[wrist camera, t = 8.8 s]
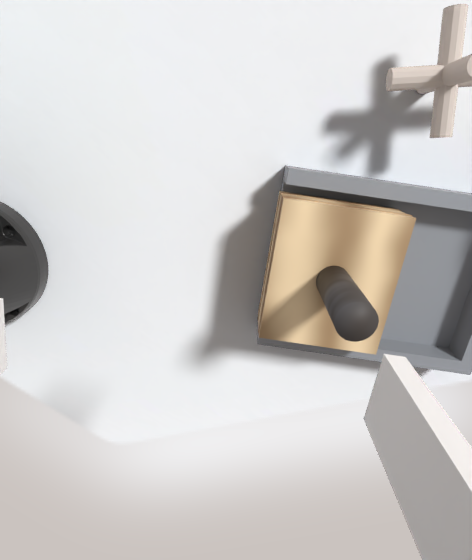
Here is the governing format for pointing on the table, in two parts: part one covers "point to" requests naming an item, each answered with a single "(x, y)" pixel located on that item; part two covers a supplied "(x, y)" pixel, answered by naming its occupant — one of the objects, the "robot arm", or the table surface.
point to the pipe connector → (440, 72)
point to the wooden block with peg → (332, 272)
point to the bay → (412, 269)
